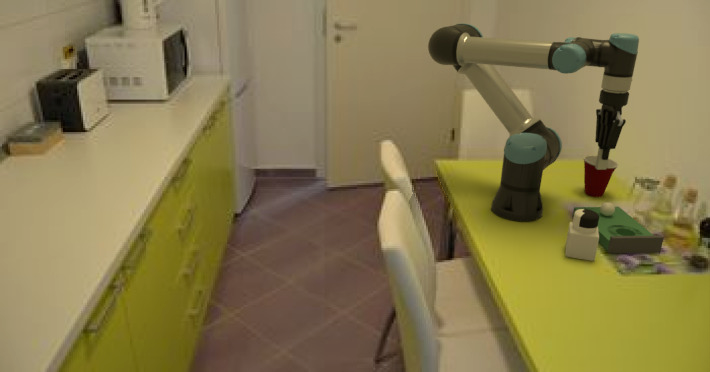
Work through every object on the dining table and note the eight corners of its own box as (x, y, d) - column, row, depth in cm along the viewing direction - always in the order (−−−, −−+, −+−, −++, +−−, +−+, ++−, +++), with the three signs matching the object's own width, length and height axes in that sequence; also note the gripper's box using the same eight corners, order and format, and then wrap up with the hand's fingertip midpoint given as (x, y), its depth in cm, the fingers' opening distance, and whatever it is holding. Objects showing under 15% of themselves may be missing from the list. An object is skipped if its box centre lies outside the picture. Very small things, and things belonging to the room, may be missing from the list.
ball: (602, 218, 165) (605, 205, 164) (596, 212, 169) (598, 200, 168) (616, 218, 166) (618, 205, 164) (609, 212, 169) (611, 200, 168)
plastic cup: (613, 202, 184) (621, 167, 180) (578, 198, 187) (584, 163, 183) (610, 190, 194) (617, 156, 189) (576, 186, 197) (582, 153, 192)
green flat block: (609, 253, 152) (612, 238, 150) (572, 216, 174) (574, 202, 172) (660, 252, 153) (663, 237, 152) (617, 215, 175) (619, 202, 173)
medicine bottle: (593, 249, 154) (601, 208, 150) (594, 261, 148) (603, 219, 143) (565, 244, 156) (572, 204, 152) (565, 256, 150) (572, 215, 145)
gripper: (640, 95, 156) (623, 176, 165) (616, 85, 168) (602, 161, 177) (613, 95, 156) (598, 176, 165) (591, 85, 168) (578, 161, 177)
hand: (600, 168), depth 171 cm, fingers closed
